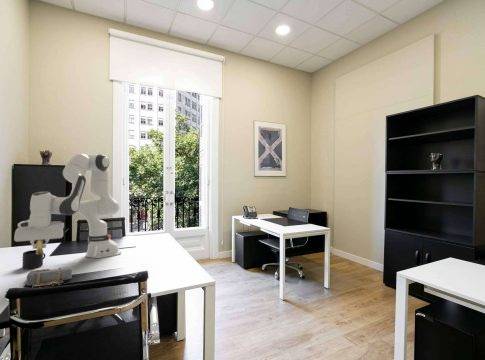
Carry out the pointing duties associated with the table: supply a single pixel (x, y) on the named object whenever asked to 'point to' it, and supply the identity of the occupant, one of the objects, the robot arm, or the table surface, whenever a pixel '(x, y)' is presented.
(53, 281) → the peg rack
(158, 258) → the table surface
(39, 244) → the pin
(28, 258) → the mug
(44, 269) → the tan lumpy piece
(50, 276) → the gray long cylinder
